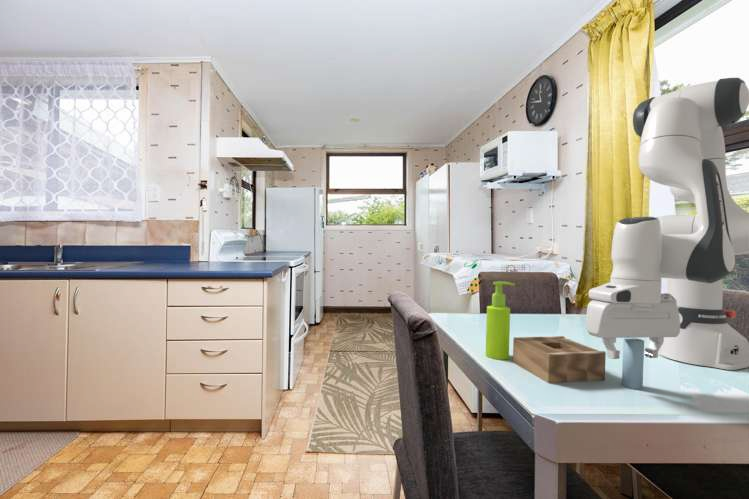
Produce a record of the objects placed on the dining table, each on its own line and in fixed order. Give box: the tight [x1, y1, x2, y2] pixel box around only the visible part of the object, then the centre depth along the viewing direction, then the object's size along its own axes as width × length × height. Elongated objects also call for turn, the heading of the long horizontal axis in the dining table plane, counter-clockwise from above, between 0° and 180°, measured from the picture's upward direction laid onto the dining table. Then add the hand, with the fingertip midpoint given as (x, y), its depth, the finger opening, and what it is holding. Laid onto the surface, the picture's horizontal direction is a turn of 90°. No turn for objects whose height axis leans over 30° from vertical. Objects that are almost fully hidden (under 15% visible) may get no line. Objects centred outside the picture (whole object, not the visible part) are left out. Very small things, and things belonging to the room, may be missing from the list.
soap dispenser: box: [485, 280, 516, 361], centre depth 97 cm, size 6×7×20 cm
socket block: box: [512, 335, 607, 384], centre depth 87 cm, size 14×14×6 cm
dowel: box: [621, 338, 645, 391], centre depth 78 cm, size 4×4×10 cm
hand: (632, 357), depth 78 cm, fingers open, 8 cm apart
